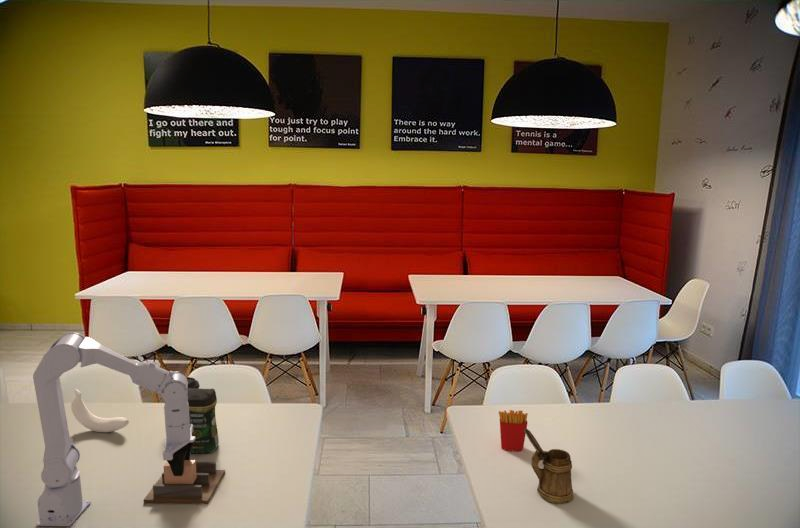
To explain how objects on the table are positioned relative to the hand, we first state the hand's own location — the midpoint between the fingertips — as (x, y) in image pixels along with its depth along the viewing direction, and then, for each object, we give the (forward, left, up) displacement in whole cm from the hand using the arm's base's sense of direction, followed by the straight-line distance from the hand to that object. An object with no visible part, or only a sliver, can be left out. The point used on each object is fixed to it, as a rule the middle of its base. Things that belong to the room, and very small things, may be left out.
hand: (180, 471), depth 145 cm
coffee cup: (+38, +13, -6) cm, 40 cm away
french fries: (+26, -89, -6) cm, 93 cm away
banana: (+32, +37, -7) cm, 49 cm away
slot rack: (+3, 0, -6) cm, 7 cm away
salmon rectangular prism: (0, 0, -3) cm, 3 cm away
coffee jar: (+23, +3, -7) cm, 24 cm away
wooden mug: (+3, -94, -7) cm, 94 cm away
